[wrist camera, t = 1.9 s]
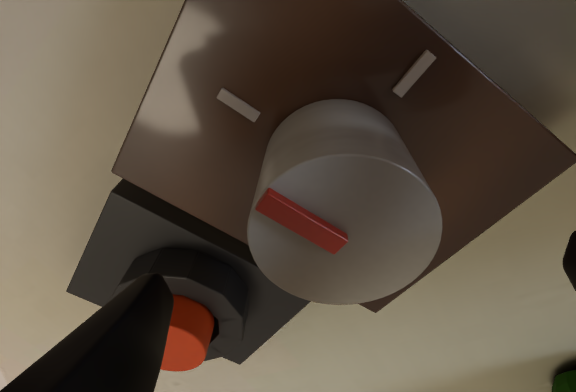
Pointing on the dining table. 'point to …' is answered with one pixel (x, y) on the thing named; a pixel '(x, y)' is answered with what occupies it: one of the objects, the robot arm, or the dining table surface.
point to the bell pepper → (565, 382)
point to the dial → (341, 207)
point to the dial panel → (323, 86)
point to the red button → (187, 335)
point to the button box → (183, 269)
